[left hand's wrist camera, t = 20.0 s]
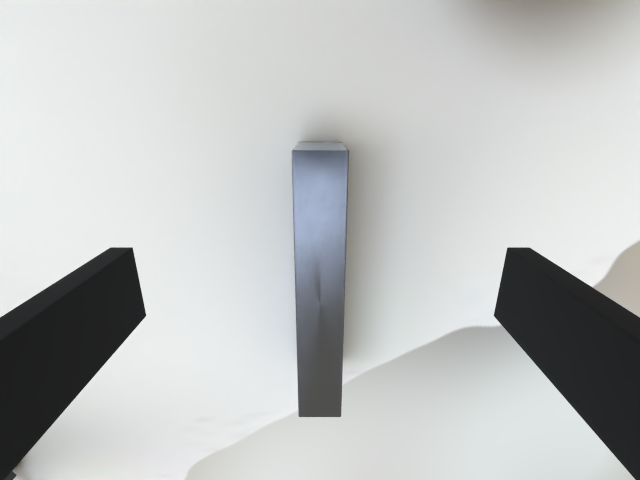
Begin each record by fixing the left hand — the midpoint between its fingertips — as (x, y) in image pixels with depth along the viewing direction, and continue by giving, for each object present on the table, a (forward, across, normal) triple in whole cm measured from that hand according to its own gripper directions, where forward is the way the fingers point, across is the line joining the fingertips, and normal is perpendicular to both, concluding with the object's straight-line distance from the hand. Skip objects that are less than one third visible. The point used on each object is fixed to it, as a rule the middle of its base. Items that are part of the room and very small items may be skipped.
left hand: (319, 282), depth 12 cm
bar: (+25, 0, -11) cm, 27 cm away
